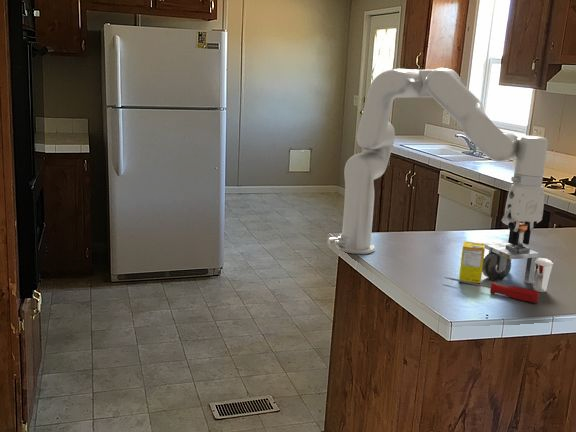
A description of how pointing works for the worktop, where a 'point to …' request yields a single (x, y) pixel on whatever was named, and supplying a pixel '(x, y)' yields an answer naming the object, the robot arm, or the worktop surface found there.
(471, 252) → the supplement box
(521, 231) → the light bulb
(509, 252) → the grey flat-topped wheeled fixture
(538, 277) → the milkshake
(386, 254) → the worktop surface
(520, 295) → the screwdriver
